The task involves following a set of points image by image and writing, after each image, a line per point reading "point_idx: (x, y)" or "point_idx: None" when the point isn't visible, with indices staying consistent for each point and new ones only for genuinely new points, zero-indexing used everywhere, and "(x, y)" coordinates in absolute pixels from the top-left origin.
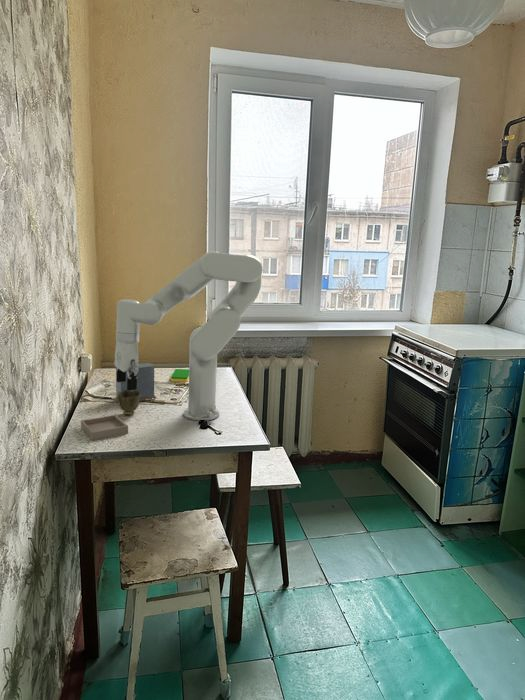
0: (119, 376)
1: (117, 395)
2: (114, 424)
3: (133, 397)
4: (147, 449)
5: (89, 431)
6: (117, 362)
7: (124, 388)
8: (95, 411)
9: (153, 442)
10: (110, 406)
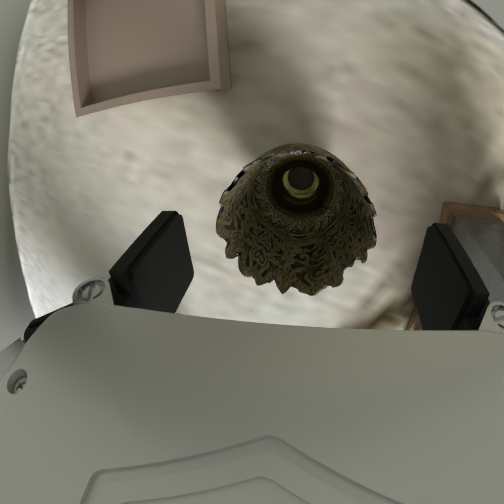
0: (440, 272)
1: (496, 225)
2: (159, 70)
3: (221, 227)
4: (9, 145)
5: None
6: (388, 447)
7: (475, 266)
8: (420, 61)
9: (34, 171)
10: (448, 152)
